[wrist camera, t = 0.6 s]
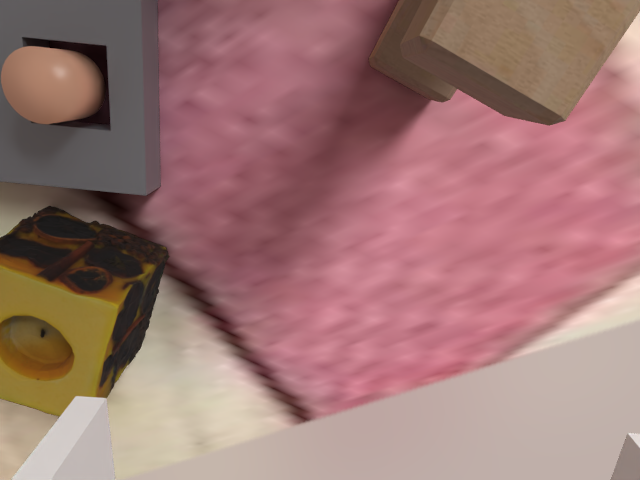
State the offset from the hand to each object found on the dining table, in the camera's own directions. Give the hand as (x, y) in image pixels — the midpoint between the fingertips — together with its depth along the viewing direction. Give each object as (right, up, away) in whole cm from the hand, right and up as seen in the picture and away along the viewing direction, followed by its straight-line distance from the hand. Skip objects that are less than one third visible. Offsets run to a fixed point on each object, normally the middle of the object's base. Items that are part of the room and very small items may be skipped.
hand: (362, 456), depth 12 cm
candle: (-19, +2, +27) cm, 33 cm away
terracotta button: (-18, +16, +20) cm, 31 cm away
